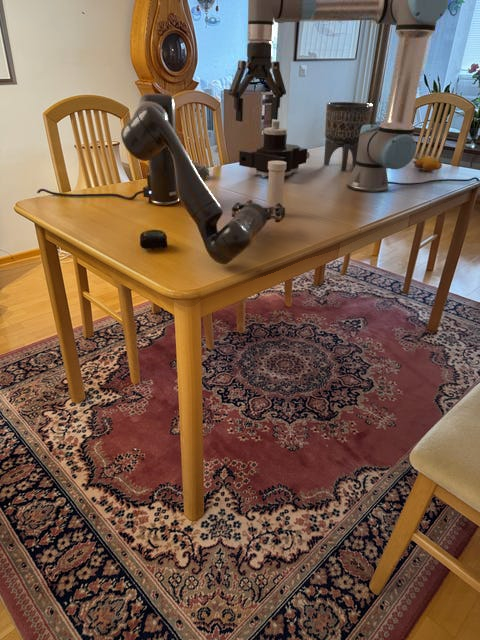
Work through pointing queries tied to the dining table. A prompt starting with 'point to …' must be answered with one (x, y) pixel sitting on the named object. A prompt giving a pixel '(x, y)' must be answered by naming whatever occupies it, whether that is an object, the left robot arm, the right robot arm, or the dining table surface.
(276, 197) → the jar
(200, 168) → the rock
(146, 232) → the tape measure
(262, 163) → the mechanical component
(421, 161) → the toy
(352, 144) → the planter
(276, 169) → the white cylinder with groove
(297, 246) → the dining table surface
